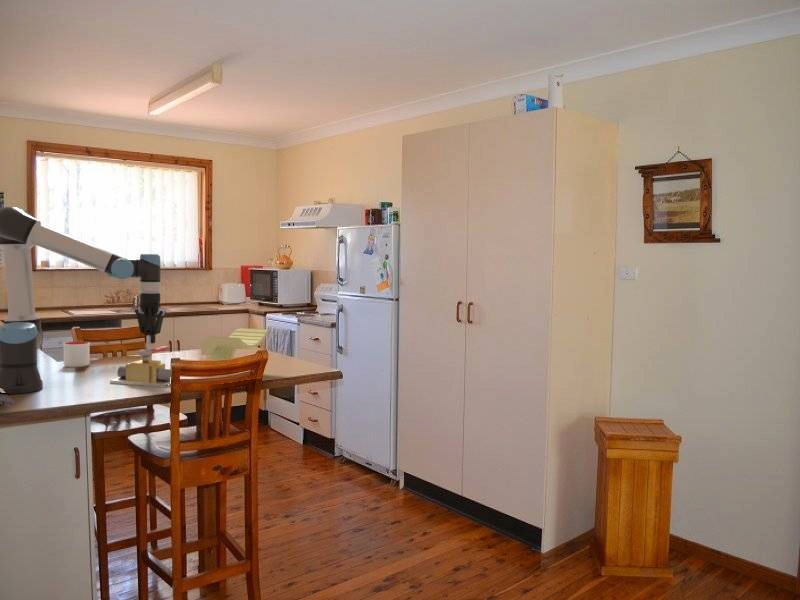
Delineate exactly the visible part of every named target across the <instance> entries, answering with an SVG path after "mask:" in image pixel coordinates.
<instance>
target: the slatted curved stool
mask: <svg viewBox="0 0 800 600" xmlns="http://www.w3.org/2000/svg"><path fill="white" fill-rule="evenodd" d="M268 330H269V329H264V328H262V329H261V328H260V329H259V328H245V327H243V328H241V327H240V328H236V329H235V330H233V331H232V333H231V334H230V335H229V336H213V335H208V336H206V337H204V338H203V339H202V341H201V343H200V344H201V345H200V349H201V350H200V355H203V356H204V355H205V356H210V358H211V361H212V360H222V359H230V358H233V359H234V356H235V353H236V350H249V349H252V348H256V347H258V346H260V345H261V343H263V340H265V339H266V337H268V335H269V334H268V333H269V332H268Z"/></svg>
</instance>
